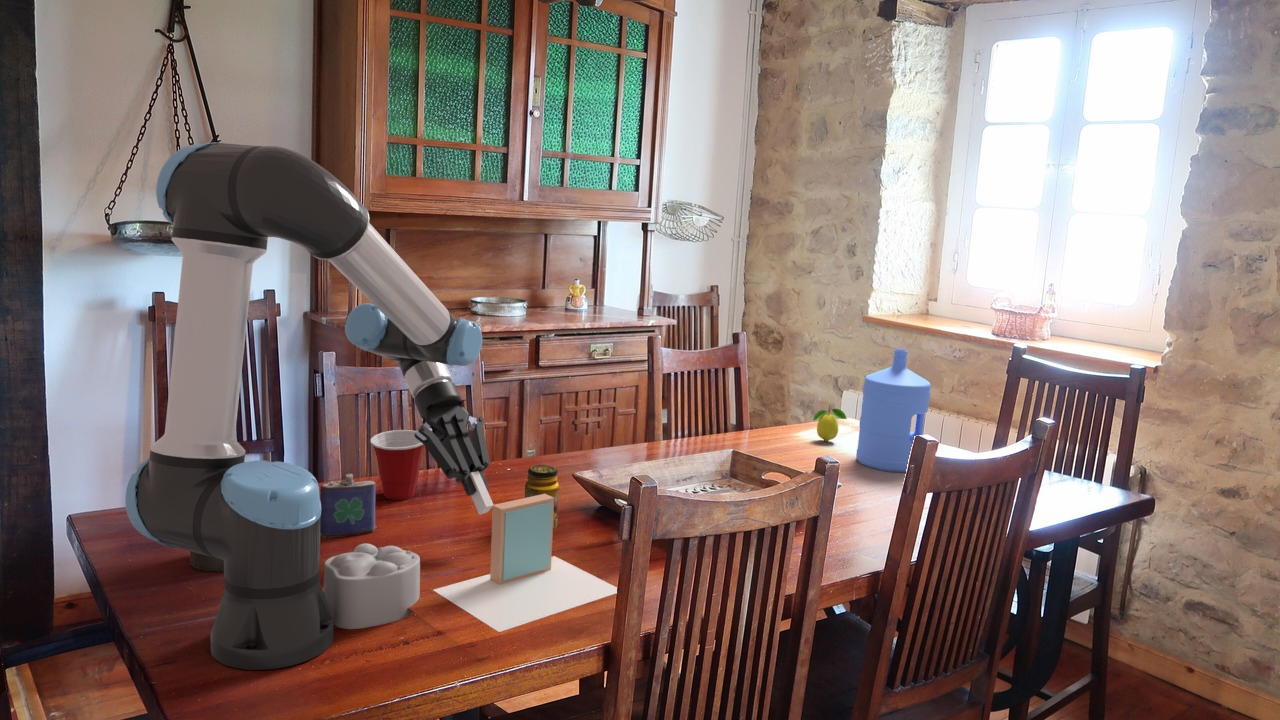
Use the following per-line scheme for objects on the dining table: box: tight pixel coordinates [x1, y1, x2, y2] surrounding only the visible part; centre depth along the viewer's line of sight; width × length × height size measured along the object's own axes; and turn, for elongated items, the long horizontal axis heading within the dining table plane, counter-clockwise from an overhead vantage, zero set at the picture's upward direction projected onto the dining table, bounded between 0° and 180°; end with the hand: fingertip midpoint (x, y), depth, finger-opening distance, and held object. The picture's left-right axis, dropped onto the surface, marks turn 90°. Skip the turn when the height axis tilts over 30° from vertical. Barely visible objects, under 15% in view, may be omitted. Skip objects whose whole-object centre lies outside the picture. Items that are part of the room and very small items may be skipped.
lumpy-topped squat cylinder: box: [323, 543, 421, 630], centre depth 136 cm, size 10×13×9 cm
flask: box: [319, 473, 376, 538], centre depth 164 cm, size 9×3×11 cm, turn 116°
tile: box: [489, 494, 554, 585], centre depth 147 cm, size 10×3×12 cm, turn 134°
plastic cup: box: [370, 429, 425, 501], centre depth 184 cm, size 11×11×12 cm
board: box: [432, 555, 618, 633], centre depth 143 cm, size 23×17×1 cm
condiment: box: [524, 464, 560, 531], centre depth 169 cm, size 7×8×12 cm
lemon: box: [812, 404, 848, 443], centre depth 247 cm, size 7×6×10 cm
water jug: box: [855, 348, 932, 473], centre depth 228 cm, size 16×16×28 cm
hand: (486, 509), depth 155 cm, fingers closed
